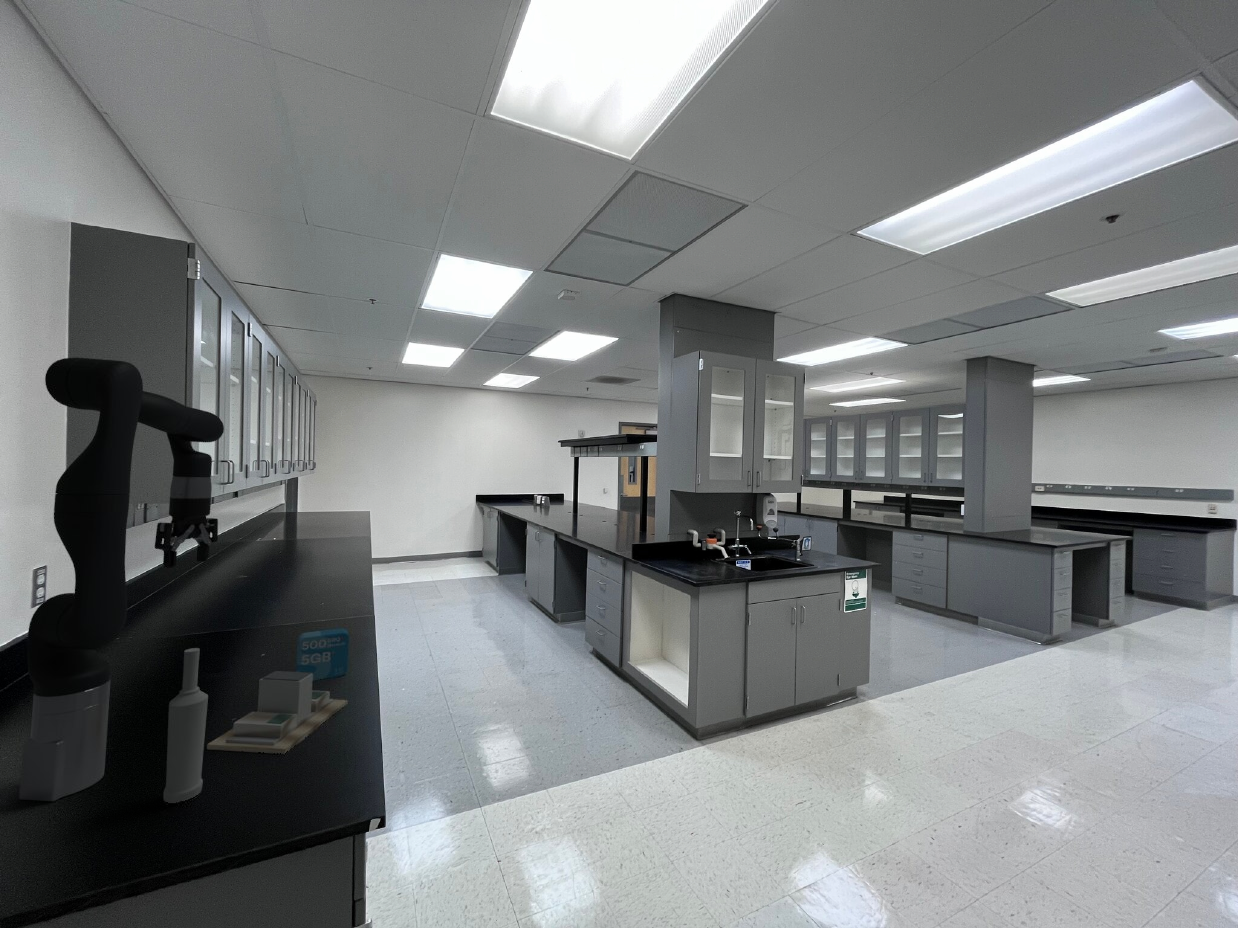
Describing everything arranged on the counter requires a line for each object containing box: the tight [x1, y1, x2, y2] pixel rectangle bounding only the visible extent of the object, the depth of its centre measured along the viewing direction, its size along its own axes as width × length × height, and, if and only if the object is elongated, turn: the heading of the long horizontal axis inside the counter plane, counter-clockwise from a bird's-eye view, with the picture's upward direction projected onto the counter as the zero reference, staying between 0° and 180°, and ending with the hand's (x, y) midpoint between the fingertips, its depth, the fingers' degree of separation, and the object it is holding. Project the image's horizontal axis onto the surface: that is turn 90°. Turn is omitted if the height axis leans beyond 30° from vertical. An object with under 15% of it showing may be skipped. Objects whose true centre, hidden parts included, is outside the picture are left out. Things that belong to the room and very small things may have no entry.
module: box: [257, 670, 313, 724], centre depth 112 cm, size 4×9×9 cm, turn 88°
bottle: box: [163, 647, 209, 803], centre depth 87 cm, size 5×5×25 cm
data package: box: [295, 628, 350, 681], centre depth 138 cm, size 12×4×12 cm, turn 124°
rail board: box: [206, 690, 349, 755], centre depth 112 cm, size 22×16×4 cm
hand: (186, 564), depth 119 cm, fingers open, 8 cm apart
